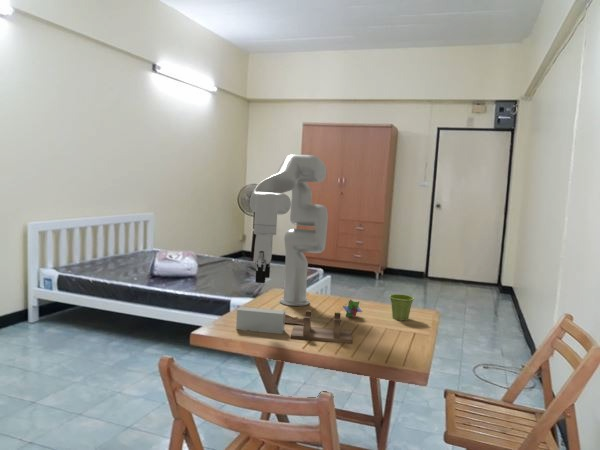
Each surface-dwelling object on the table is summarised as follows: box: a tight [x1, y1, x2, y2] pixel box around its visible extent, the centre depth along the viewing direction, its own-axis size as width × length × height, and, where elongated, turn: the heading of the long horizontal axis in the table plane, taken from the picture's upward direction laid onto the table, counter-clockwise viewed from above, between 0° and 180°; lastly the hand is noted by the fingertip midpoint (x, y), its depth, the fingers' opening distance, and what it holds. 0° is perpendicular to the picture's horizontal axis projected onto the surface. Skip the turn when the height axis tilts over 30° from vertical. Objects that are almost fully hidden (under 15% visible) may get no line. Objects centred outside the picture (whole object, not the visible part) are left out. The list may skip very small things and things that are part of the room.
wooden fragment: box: [285, 313, 304, 326], centre depth 177 cm, size 26×11×1 cm, turn 58°
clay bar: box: [235, 306, 286, 335], centre depth 163 cm, size 4×16×7 cm, turn 82°
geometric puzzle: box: [342, 299, 363, 319], centre depth 185 cm, size 7×7×8 cm
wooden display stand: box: [289, 309, 353, 344], centre depth 160 cm, size 11×20×7 cm, turn 85°
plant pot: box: [389, 293, 415, 321], centre depth 187 cm, size 9×9×9 cm
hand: (262, 280), depth 161 cm, fingers open, 9 cm apart
